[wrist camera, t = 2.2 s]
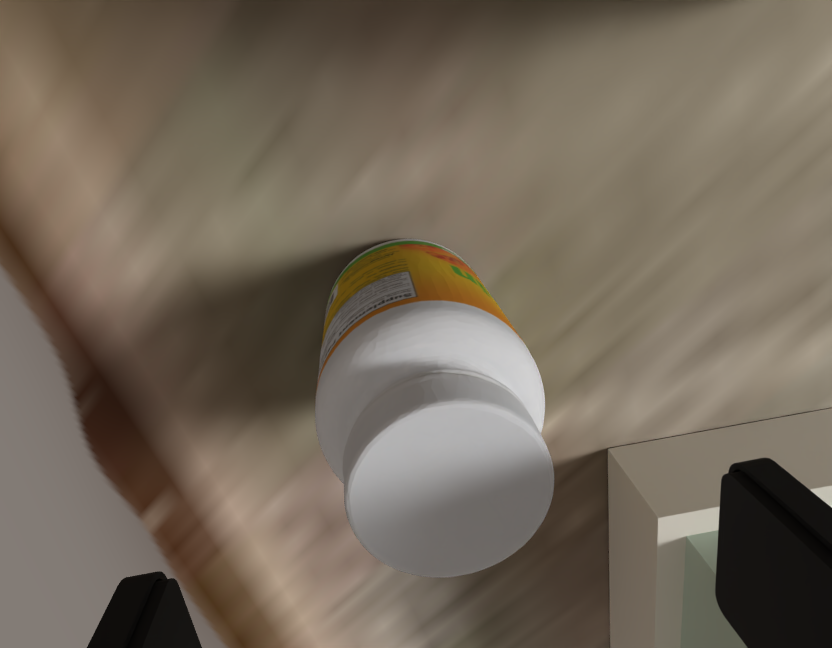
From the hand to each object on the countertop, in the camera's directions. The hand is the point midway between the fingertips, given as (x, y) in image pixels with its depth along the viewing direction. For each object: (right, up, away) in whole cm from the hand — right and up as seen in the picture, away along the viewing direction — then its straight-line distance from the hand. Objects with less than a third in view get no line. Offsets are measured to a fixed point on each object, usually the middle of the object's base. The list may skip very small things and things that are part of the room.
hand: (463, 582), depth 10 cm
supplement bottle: (-1, +5, +10) cm, 11 cm away
